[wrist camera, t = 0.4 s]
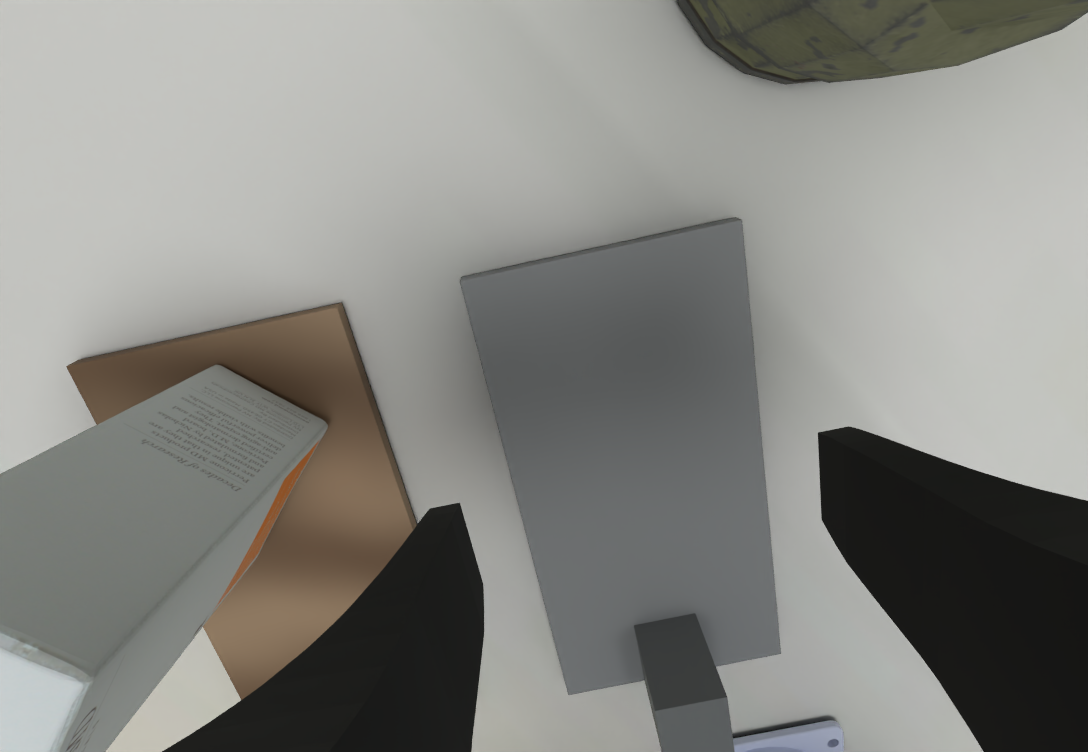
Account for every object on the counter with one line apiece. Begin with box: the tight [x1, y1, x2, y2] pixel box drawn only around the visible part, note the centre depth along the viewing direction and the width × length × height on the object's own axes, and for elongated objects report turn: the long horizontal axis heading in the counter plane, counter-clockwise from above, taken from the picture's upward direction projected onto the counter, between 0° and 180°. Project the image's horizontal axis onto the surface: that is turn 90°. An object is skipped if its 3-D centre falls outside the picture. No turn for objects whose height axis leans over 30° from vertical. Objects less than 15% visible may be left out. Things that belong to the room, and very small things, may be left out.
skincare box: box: [0, 365, 328, 752], centre depth 16 cm, size 6×4×12 cm
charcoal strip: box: [460, 217, 781, 752], centre depth 21 cm, size 18×9×5 cm, turn 12°
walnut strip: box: [66, 303, 476, 711], centre depth 22 cm, size 18×9×5 cm, turn 12°
